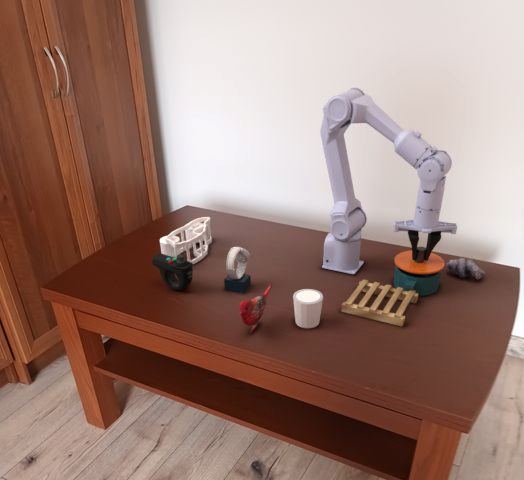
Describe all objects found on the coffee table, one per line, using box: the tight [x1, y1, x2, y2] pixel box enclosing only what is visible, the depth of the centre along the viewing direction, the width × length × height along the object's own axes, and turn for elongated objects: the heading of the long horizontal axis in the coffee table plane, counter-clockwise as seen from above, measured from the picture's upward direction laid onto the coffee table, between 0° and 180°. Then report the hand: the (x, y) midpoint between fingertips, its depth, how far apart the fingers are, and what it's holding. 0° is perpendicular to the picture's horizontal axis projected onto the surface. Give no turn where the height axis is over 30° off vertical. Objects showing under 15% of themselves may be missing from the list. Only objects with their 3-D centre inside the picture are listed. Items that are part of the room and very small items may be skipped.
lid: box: [393, 246, 446, 274], centre depth 132 cm, size 12×12×4 cm
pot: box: [392, 264, 443, 297], centre depth 135 cm, size 11×17×5 cm
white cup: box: [292, 288, 324, 329], centre depth 122 cm, size 7×7×7 cm
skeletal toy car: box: [159, 216, 213, 265], centre depth 153 cm, size 20×11×7 cm, turn 147°
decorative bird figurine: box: [238, 283, 273, 334], centre depth 121 cm, size 3×18×10 cm, turn 156°
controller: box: [151, 253, 194, 291], centre depth 136 cm, size 4×12×10 cm, turn 54°
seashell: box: [445, 257, 485, 280], centre depth 138 cm, size 5×5×10 cm
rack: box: [340, 279, 419, 327], centre depth 128 cm, size 15×13×3 cm
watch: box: [223, 246, 252, 294], centre depth 135 cm, size 6×8×11 cm
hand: (419, 258), depth 132 cm, fingers closed on lid, 2 cm apart
